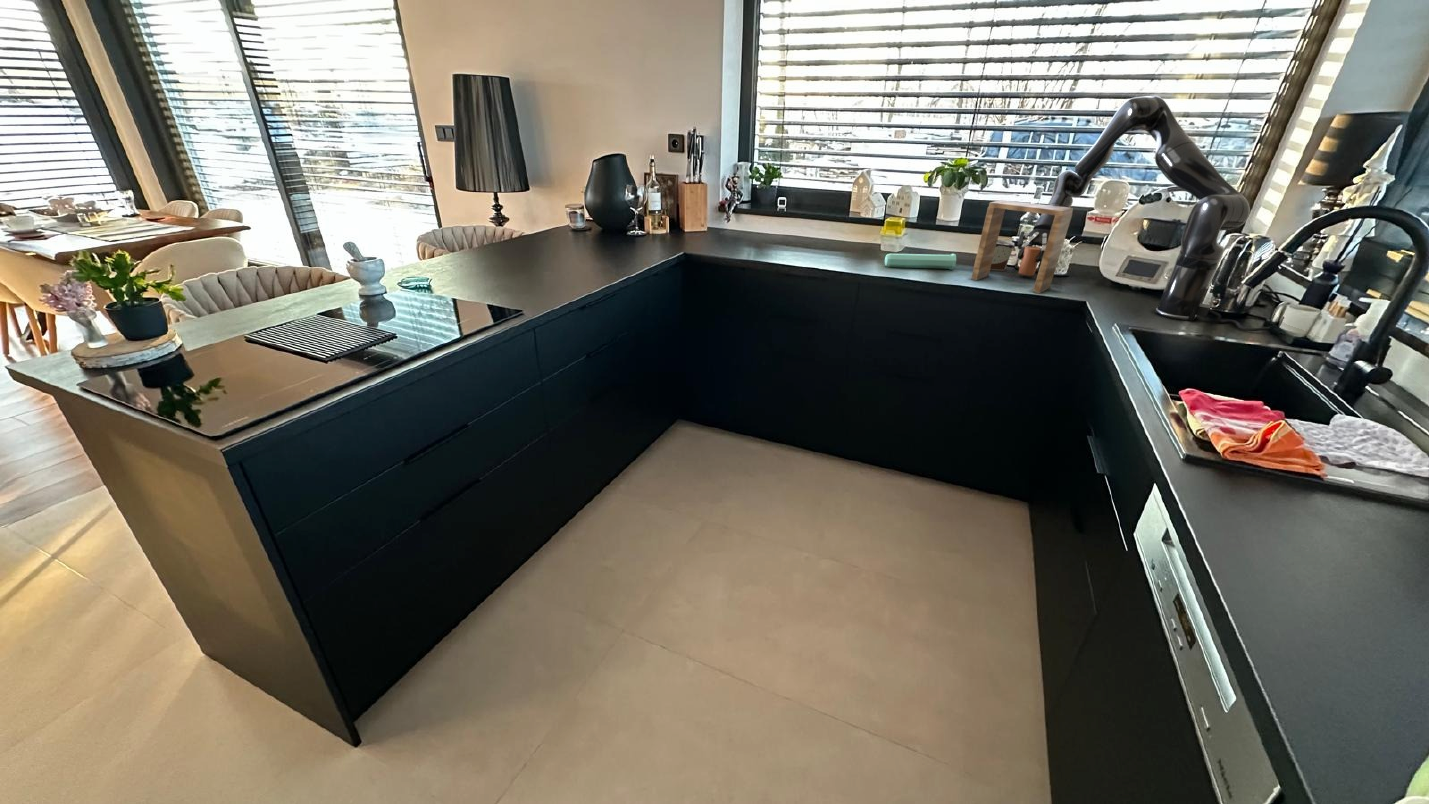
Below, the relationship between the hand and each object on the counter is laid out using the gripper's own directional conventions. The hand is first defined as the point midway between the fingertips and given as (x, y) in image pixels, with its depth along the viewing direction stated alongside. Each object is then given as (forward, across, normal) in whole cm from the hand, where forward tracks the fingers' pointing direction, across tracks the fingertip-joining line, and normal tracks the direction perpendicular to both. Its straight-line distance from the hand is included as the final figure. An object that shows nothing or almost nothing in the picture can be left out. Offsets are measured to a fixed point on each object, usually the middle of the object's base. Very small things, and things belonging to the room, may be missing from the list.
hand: (1028, 259), depth 194 cm
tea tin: (+2, 0, +5) cm, 6 cm away
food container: (+1, -14, +8) cm, 16 cm away
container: (+17, -32, -7) cm, 36 cm away
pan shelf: (+13, 0, -4) cm, 14 cm away
